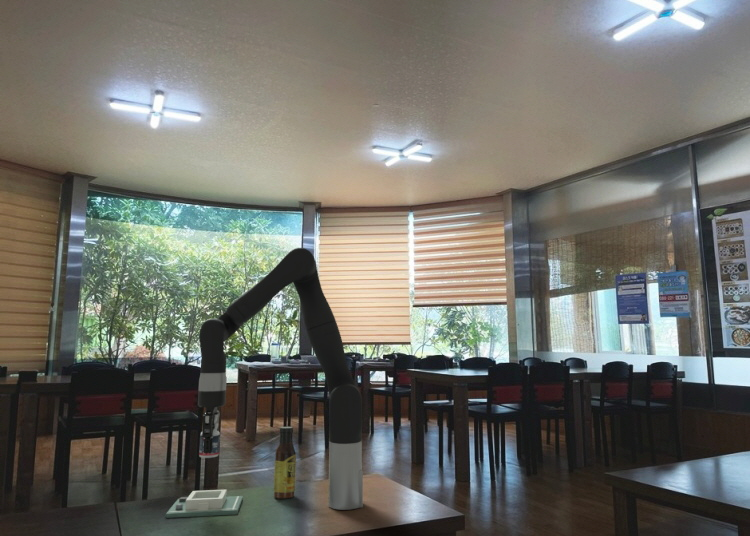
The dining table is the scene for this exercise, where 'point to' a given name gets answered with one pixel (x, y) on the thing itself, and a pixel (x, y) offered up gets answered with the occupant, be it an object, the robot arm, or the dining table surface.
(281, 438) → the sauce bottle
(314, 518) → the dining table surface
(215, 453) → the pill bottle
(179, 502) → the board
